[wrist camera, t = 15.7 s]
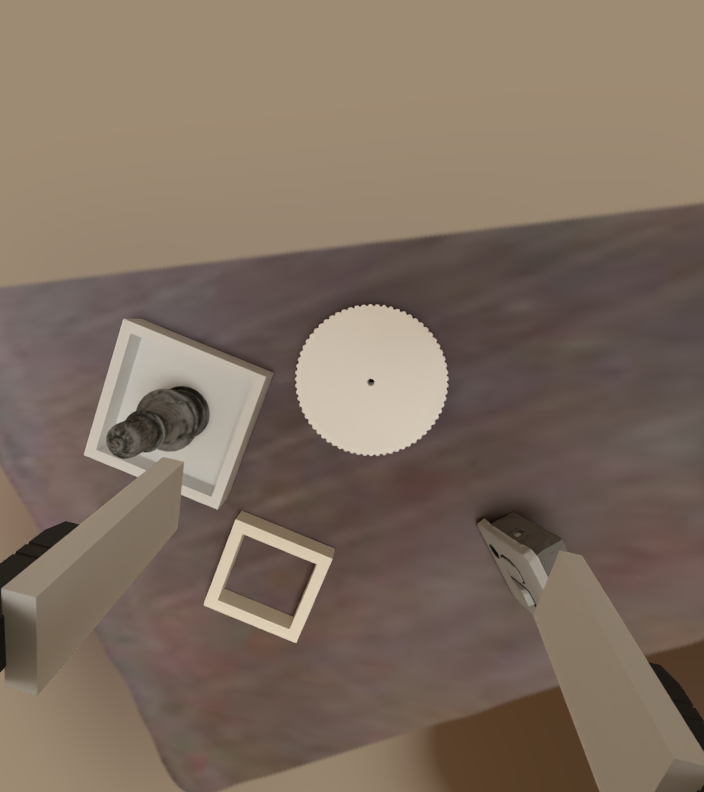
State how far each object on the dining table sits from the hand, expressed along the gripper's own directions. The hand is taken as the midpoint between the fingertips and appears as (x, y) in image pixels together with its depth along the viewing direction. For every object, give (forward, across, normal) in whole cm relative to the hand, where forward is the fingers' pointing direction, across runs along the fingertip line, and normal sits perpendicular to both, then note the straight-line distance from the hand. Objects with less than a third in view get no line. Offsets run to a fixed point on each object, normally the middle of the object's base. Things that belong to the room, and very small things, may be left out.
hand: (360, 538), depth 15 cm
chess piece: (+27, -18, -9) cm, 34 cm away
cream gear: (+29, -1, -2) cm, 29 cm away
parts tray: (+27, -18, -9) cm, 34 cm away
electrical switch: (+27, +17, -15) cm, 35 cm away
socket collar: (+26, -7, -24) cm, 36 cm away
